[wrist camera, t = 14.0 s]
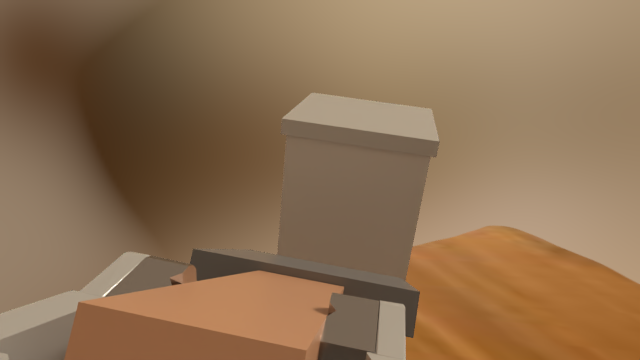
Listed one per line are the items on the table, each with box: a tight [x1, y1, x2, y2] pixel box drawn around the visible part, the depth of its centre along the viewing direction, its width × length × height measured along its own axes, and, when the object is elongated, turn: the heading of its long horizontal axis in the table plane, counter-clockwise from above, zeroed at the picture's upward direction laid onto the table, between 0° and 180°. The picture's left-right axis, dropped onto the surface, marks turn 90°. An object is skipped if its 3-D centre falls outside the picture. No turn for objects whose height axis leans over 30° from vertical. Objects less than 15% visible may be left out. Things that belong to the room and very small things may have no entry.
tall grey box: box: [277, 93, 439, 281], centre depth 36 cm, size 10×10×26 cm
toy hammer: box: [64, 249, 420, 360], centre depth 14 cm, size 18×8×2 cm, turn 167°
